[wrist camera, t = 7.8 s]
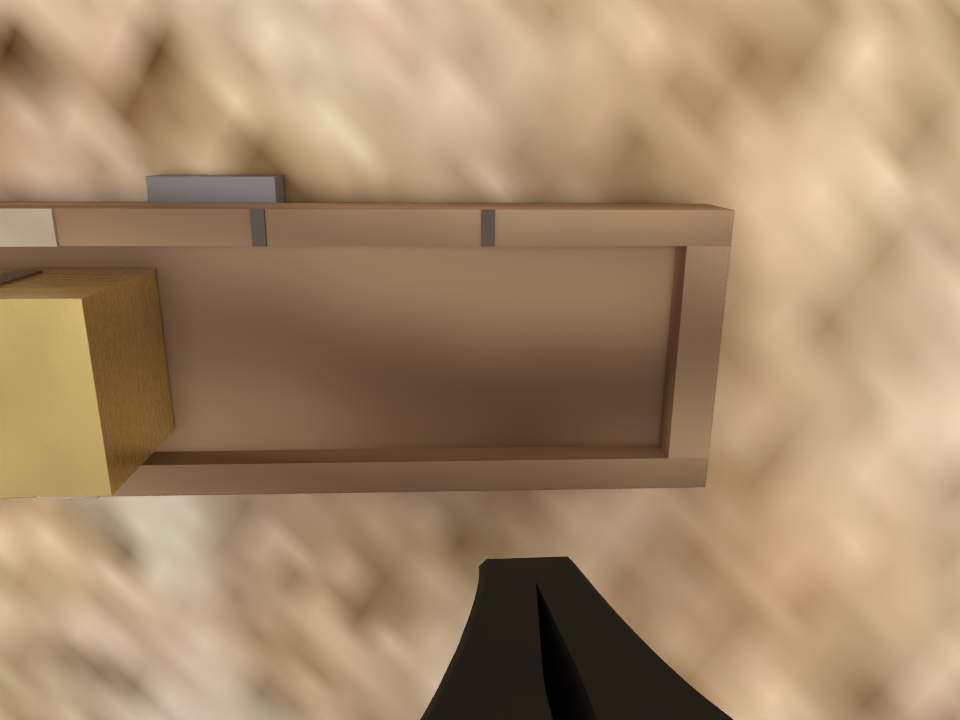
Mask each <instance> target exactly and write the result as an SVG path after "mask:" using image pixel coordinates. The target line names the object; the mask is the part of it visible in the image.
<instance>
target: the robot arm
mask: <svg viewBox="0 0 960 720" xmlns="http://www.w3.org/2000/svg"><path fill="white" fill-rule="evenodd" d="M420 720H733V719H732V718H731V717H729V716H728V715H727V714H725V713H724V712H723V711H722V710H720V709H719V708H718V707H716V706H715V705H714V704H713V703H711V702H710V701H709V700H707V699H706V698H705V697H704V696H702V695H701V694H700V693H699V692H698V691H696V690H695V689H694V688H693V687H692V686H690V685H689V684H688V683H687V682H686V681H685V680H684V679H683V678H681V677H680V676H679V675H678V674H677V673H676V672H675V671H674V670H673V669H672V668H671V667H669V666H668V665H667V664H666V663H665V662H664V661H663V660H662V659H661V658H660V657H659V656H658V655H657V654H656V653H655V652H654V651H653V650H652V649H651V648H650V647H649V646H648V645H647V644H646V643H645V642H644V641H643V640H642V639H641V638H640V637H639V636H638V635H637V634H636V633H635V632H634V631H633V630H632V629H631V628H630V627H629V626H628V624H627V623H626V622H625V621H624V620H623V619H622V618H621V617H620V616H619V615H618V614H617V613H616V612H615V610H614V609H613V608H612V607H611V606H610V605H609V604H608V603H607V601H606V600H605V599H604V598H603V597H602V596H601V595H600V593H599V592H598V591H597V590H596V589H595V588H594V586H593V585H592V584H591V583H590V582H589V580H588V579H587V578H586V577H585V576H584V574H583V573H582V572H581V571H580V570H579V568H578V567H577V566H576V565H575V563H574V562H573V561H572V560H571V559H569V558H568V557H541V558H510V559H487V560H485V561H484V562H483V563H482V564H481V565H480V566H479V582H478V588H477V592H476V596H475V600H474V603H473V606H472V610H471V613H470V616H469V618H468V621H467V624H466V626H465V629H464V632H463V634H462V637H461V640H460V642H459V645H458V647H457V649H456V652H455V654H454V656H453V658H452V660H451V662H450V664H449V666H448V668H447V671H446V673H445V675H444V677H443V679H442V681H441V683H440V685H439V687H438V689H437V691H436V693H435V695H434V697H433V698H432V700H431V702H430V704H429V706H428V707H427V709H426V711H425V713H424V714H423V716H422V718H421V719H420Z"/></svg>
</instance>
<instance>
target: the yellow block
mask: <svg viewBox="0 0 960 720" xmlns="http://www.w3.org/2000/svg"><path fill="white" fill-rule="evenodd" d="M174 430H175V425H174V417H173V409H172V401H171V393H170V385H169V376H168V368H167V360H166V352H165V344H164V336H163V328H162V319H161V311H160V303H159V295H158V287H157V279H156V271H155V268H0V498H12V497H78V496H112V495H113V494H114V493H115V492H116V491H117V490H118V489H119V488H120V487H121V486H122V485H123V484H124V483H125V482H126V481H127V479H128V478H129V477H130V476H131V475H132V474H133V473H134V472H135V471H136V470H137V469H138V468H139V467H140V466H141V465H142V464H143V463H144V462H145V461H146V460H147V459H148V458H149V456H150V455H151V454H152V453H153V452H154V451H155V450H156V449H157V448H158V447H159V446H160V445H161V444H162V443H163V442H164V441H165V440H166V439H167V438H168V437H169V436H170V435H171V433H172V432H173V431H174Z"/></svg>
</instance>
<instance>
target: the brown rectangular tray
mask: <svg viewBox="0 0 960 720" xmlns="http://www.w3.org/2000/svg"><path fill="white" fill-rule="evenodd" d="M146 183H147V192H148V200H149V202H0V268H155V271H156V279H157V287H158V295H159V303H160V311H161V319H162V328H163V336H164V344H165V352H166V360H167V368H168V376H169V385H170V393H171V401H172V409H173V417H174V425H175V430H174V431H173V432H172V433H171V435H170V436H169V437H168V438H167V439H166V440H165V441H164V442H163V443H162V444H161V445H160V446H159V447H158V448H157V449H156V450H155V451H154V452H153V453H152V454H151V455H150V456H149V458H148V459H147V460H146V461H145V462H144V463H143V464H142V465H141V466H140V467H139V468H138V469H137V470H136V471H135V472H134V473H133V474H132V475H131V476H130V477H129V478H128V479H127V481H126V482H125V483H124V484H123V485H122V486H121V487H120V488H119V489H118V490H117V491H116V492H115V493H114V494H113V495H112V496H166V495H232V494H297V493H362V492H427V491H492V490H557V489H622V488H687V487H705V485H706V476H707V466H708V457H709V447H710V438H711V428H712V419H713V409H714V400H715V390H716V381H717V371H718V362H719V352H720V343H721V333H722V324H723V314H724V305H725V295H726V286H727V276H728V266H729V257H730V247H731V238H732V228H733V219H734V210H731V209H727V208H722V207H717V206H713V205H708V204H520V203H285V192H284V177H283V175H155V176H146ZM98 497H101V496H78V497H37V499H96V498H98ZM12 498H36V497H12Z"/></svg>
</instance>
